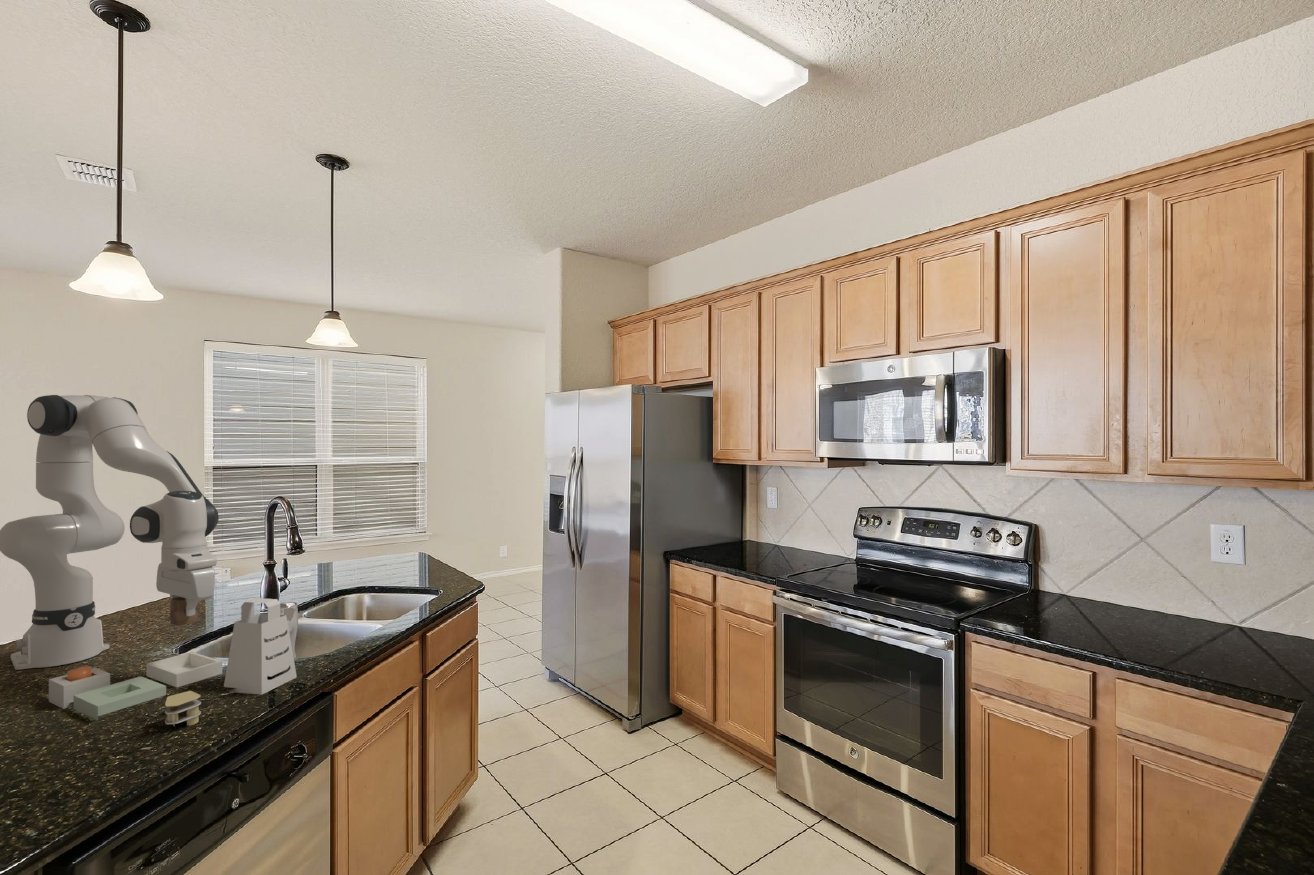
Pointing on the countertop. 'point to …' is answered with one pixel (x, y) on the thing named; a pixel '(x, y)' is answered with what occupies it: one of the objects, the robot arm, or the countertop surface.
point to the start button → (79, 673)
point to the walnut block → (181, 612)
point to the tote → (184, 669)
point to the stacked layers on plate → (183, 708)
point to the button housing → (75, 687)
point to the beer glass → (290, 622)
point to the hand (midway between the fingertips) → (183, 613)
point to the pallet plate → (117, 696)
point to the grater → (259, 650)
